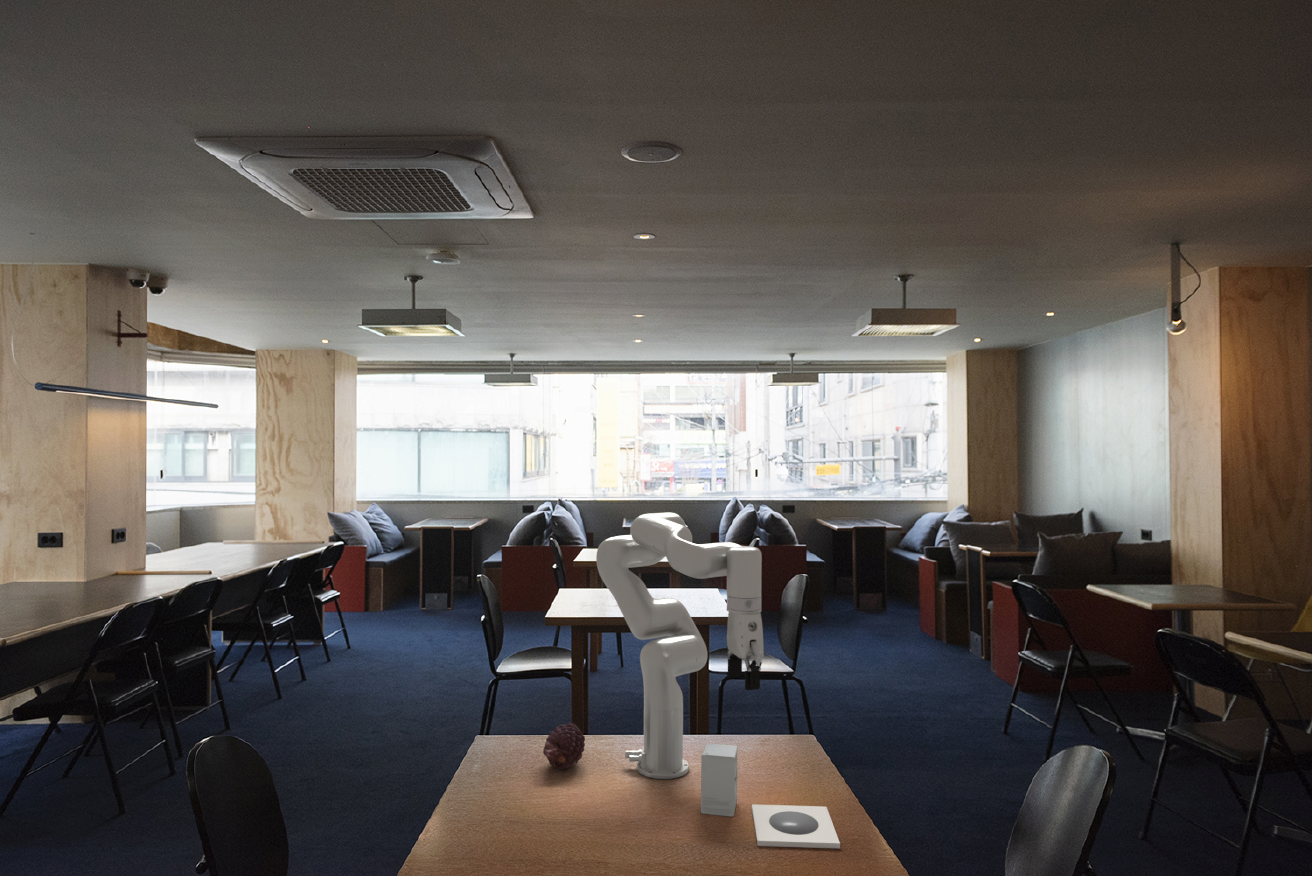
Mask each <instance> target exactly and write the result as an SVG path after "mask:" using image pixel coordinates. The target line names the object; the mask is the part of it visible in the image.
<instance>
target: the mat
mask: <svg viewBox="0 0 1312 876" xmlns="http://www.w3.org/2000/svg"><path fill="white" fill-rule="evenodd" d="M751 814H752V819H753V827H754V831H755V838H756V844H757V846H758V847H780V848H781V847H783V848H787V847H788V848H809V849H810V848H811V849H812V848H817V849H841V842H840V840H839V837H838V834H837V832H836V829H835V827H834V824H833V820H832V818H831V815H830V813H829V810H828V807H827V806H818V805H817V806H815V805H812V806H811V805H790V804H789V805H786V804H785V805H784V804H783V805H781V804H756V803H755V804H751Z"/></svg>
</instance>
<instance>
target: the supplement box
mask: <svg viewBox="0 0 1312 876" xmlns="http://www.w3.org/2000/svg"><path fill="white" fill-rule="evenodd" d="M738 749H739V748H738V745H735V744H720V743H719V744H718V743H717V744H716V743H705V744H704V747H703V751H702V754H701V755H700V757H701V763H700V765H701V766H700V767H701V768H700V770H701V772H700V775H701V776H700V777H701V779H700V780H701V781H700V814H704V815H712V816H722V817H723V816H724V817H732V818H733V817H734V816H735V811H736V807H737V802H738Z"/></svg>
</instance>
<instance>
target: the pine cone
mask: <svg viewBox="0 0 1312 876" xmlns="http://www.w3.org/2000/svg"><path fill="white" fill-rule="evenodd" d="M545 740H546V741H545V742H544V747H543V749H542V750H543V751H542V753H543V755H544V756H545V757H546V758H547V760H548V763H549V764H550V766H554V768H555V769H557V768H558V769H559V770H562V769H563V770H565V769H566V770H567V769H568V768H569V767H573V766H574V765H576V764H578V762H579V761H580V760H581V759H582V758H583V752H584V751H585V747H586V743H585V741H586V737H585V735H584V734H583V733H582V731H581V730H580V728H579V727H578V725H576V724H574V723H573V722H568V723H564V724H559V725H557V726H556V727H554V728H553V729H552V731H550V732H549V734H548V737H547V738H546V739H545Z"/></svg>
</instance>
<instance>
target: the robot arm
mask: <svg viewBox="0 0 1312 876" xmlns="http://www.w3.org/2000/svg"><path fill="white" fill-rule="evenodd" d="M629 529H630V530H629V531H630V533H629V534H623V535H616V536H611V537H609V538H606V539H604V540H603V541H602V542H601V543H599V545H598V548H597V551H596V557H595V558H596V559H595V561H596V567H597V571H598V574H599V577H600V579H601V580H602V582H603V583H604V586H606V588H607V589H608V590H609V592H610V594H611V595H612V596H613V598H614V600H615V602H616V604H617V606H618V608H619V610H620V613H621V614H622V616H623V618H624V620H625V622H626V625H627V626H628V628H629V630H630V632H631V633H632V635H633V636H634V638H636V639H638V640H641V641H642V640H643V641H645V640H650V641H648V642H646V644H645V645H644V646H643V647H642V648H641V650H640V653H639V654H640V655H639V662H640V668H641V669H640V670H641V675H642V680H643V683H642V684H643V745H642V749H641V748H640V749H638V750H632V749H625V752H624V753H625V754H624V756H625V759H628V760H629V762H634V763H635V762H637V764H636V770H637V772H638V773H640V775H642V776H644V777H647V778H652V779H655V780H656V779H657V780H670V779H677V778H681V777H683V776H685V775H686V774H687V773H688V772H689V771H690V765H689V762H688V761H687V760H686V759H684V757H683V756H684V753H683V750H684V746H683V744H684V743H683V740H684V696H683V691H682V689H681V686H680V685H679V684H678V681H677V679H676V677H680V676H683V675H686V674H691V673H695V672H698V671H700V670H701V669H703V668H704V667H705V666H706V663H707V661H708V649H707V645H706V642H705V641H704V639H703V637H702V635H701V633H700V631H699V629H698V628H697V626H696V624H695V622H694V620H693V618H692V617H691V615H690V613H689V611H688V609H687V608H686V606H685V605H684V604H683V603H682V602H681V601H680V600H679V599H676V598H673V597H663V598H654V597H653V596H652V595H651V593H650V592H649V590H648V588H647V586H646V584H645V583H644V582H643V580H642V579H641V578H640V577H639V576H638V575H636V574H635V573H633V571H631V570H629V568H630V569H631V568H639V567H640V568H641V567H648V566H652V565H655V564H657V563H659V562H661V561H662V560H664V559H665V558H666V559H667V562H668V564H669V565H670V567H671V568H672V569H673V570H675V571H676V572H679V573H681V574H683V575H685V576H688V577H690V578H694V579H710V578H716V577H718V578H719V577H726V611H727V612H728V614H727V628H726V630H727V631H726V635H725V637H726V650H727V654H726V656H727V677H729V678H740V677H742V676H743V661H744V664H745V667H746V670H744V689H745V690H747V691H755V690H760V688H761V670H762V667H761V666H762V664H763V663H762V661H763V657H764V653H765V652H764V632H763V631H764V629H763V628H764V627H763V620H762V564H763V563H762V561H763V559H762V556H763V555H762V551H761V550H760V549H759V548H758V547H755V546H749V545H747V546H746V545H740V544H738V543H735V542H731V541H730V542H729V541H725V542H724V541H721V542H712V543H709V542H708V543H701V544H697V543H693V534H692V532H691V530H690V528H688V526H687V525H686V523H685V520H684V519H683V518H682V517H681V515H679V514H678V513H676V512H670V511H669V512H668V511H667V512H653V513H652V512H651V513H649V512H648V513H644V514H640V515H639V516H637V517H636V518H635V519H634V520H633V521H632V523H631V525H630V527H629ZM750 661H751V663H750Z"/></svg>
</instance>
